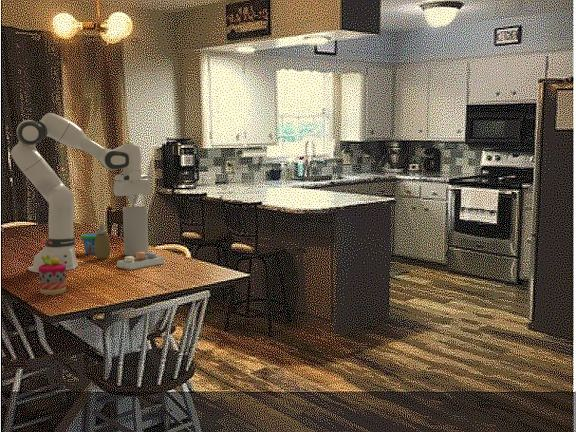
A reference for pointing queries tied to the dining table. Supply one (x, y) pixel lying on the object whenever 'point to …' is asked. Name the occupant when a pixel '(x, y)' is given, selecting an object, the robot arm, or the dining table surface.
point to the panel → (140, 263)
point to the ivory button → (129, 259)
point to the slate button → (151, 255)
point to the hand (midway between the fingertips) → (133, 204)
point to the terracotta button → (140, 255)
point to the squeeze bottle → (102, 244)
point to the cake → (52, 277)
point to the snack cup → (89, 242)
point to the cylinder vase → (135, 230)
